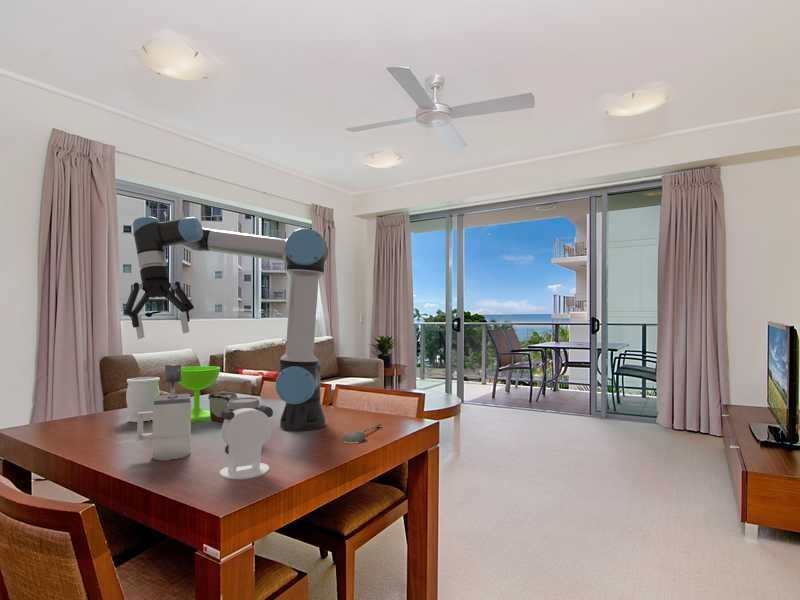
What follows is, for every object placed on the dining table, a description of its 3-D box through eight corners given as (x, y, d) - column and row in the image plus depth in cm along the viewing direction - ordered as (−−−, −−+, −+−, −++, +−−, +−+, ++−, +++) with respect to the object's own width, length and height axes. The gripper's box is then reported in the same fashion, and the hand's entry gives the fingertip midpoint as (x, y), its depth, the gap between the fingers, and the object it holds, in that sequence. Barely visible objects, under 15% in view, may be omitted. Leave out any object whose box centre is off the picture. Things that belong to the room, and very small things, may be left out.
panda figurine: (259, 460, 121) (260, 402, 121) (280, 471, 112) (280, 408, 113) (212, 470, 113) (213, 408, 113) (230, 482, 104) (231, 415, 105)
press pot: (189, 448, 131) (190, 393, 132) (190, 457, 123) (191, 398, 123) (138, 454, 126) (139, 396, 126) (135, 464, 117) (136, 402, 118)
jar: (165, 417, 172) (165, 376, 172) (147, 423, 161) (148, 380, 162) (138, 416, 173) (139, 376, 173) (118, 423, 162) (119, 380, 163)
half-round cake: (245, 422, 164) (245, 393, 164) (230, 425, 159) (230, 396, 159) (222, 418, 170) (223, 390, 171) (207, 421, 165) (208, 393, 166)
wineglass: (164, 417, 171) (165, 368, 172) (206, 411, 183) (207, 365, 184) (185, 424, 161) (186, 372, 161) (227, 416, 173) (228, 368, 174)
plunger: (180, 426, 128) (181, 363, 128) (180, 429, 124) (181, 365, 125) (164, 428, 126) (165, 364, 127) (163, 431, 123) (164, 365, 123)
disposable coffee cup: (266, 437, 144) (266, 398, 144) (246, 445, 135) (246, 403, 135) (240, 434, 147) (241, 396, 147) (219, 442, 138) (220, 401, 138)
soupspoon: (338, 446, 138) (357, 449, 135) (338, 435, 138) (358, 438, 135) (371, 427, 158) (388, 429, 156) (371, 417, 158) (389, 419, 156)
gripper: (186, 270, 155) (197, 332, 154) (103, 271, 136) (114, 342, 134) (197, 264, 151) (209, 328, 149) (114, 264, 131) (125, 338, 129)
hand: (164, 335), depth 141 cm, fingers open, 13 cm apart
